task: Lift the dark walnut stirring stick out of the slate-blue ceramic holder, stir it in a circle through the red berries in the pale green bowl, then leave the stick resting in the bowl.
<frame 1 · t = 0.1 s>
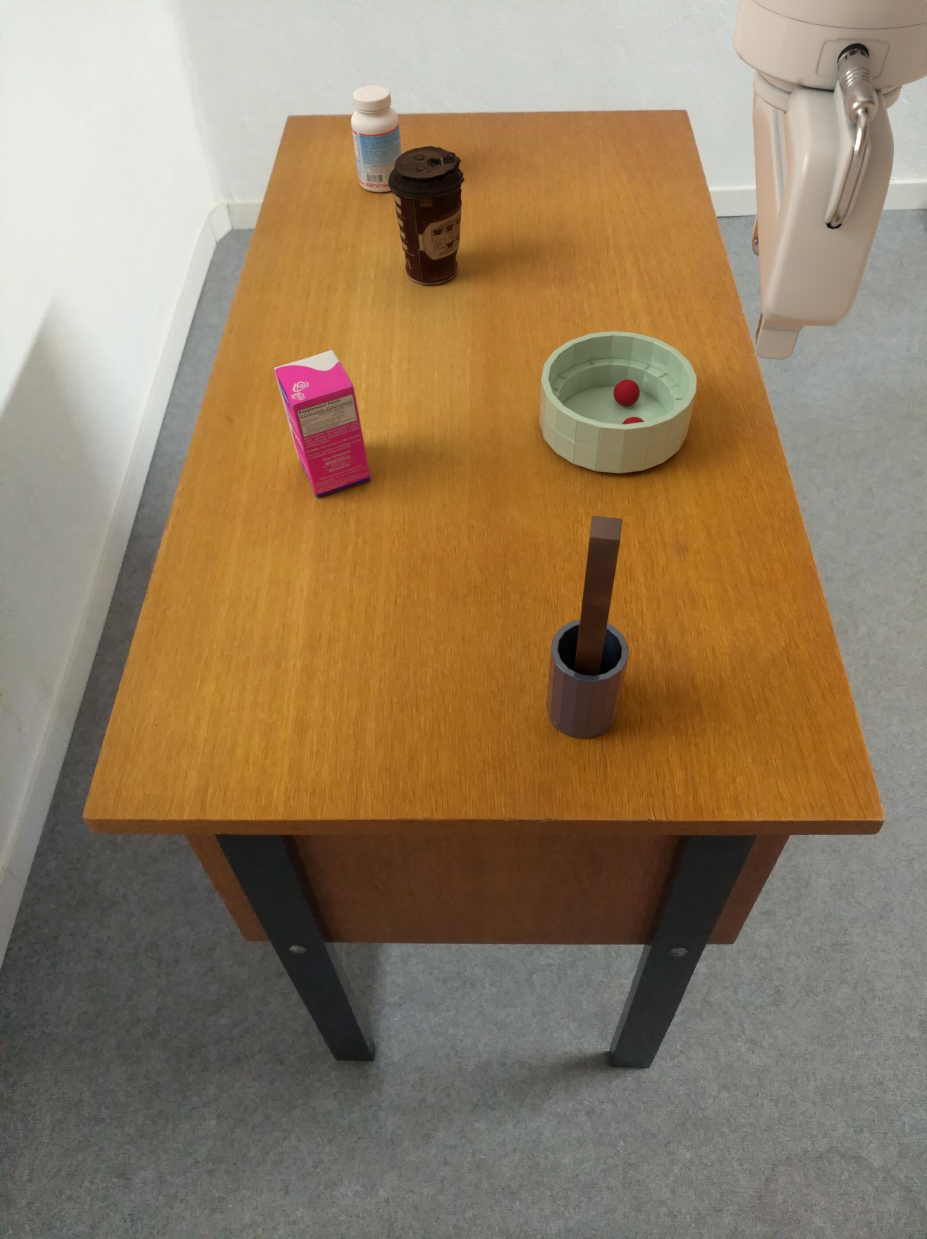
hand: (768, 297, 48), 31 cm above the table, tool pointing down, fingers open, 8 cm apart
supplement box: (334, 473, 86), on the table
stick holder: (581, 708, 69), on the table
berry 1: (626, 393, 89), point 2 cm above the table, touching bowl
pill bottle: (381, 184, 120), on the table
stirring stick: (582, 704, 69), resting on stick holder
coffee cup: (433, 272, 107), on the table
berry 2: (633, 430, 85), point 2 cm above the table, touching bowl
bowl: (612, 426, 89), on the table
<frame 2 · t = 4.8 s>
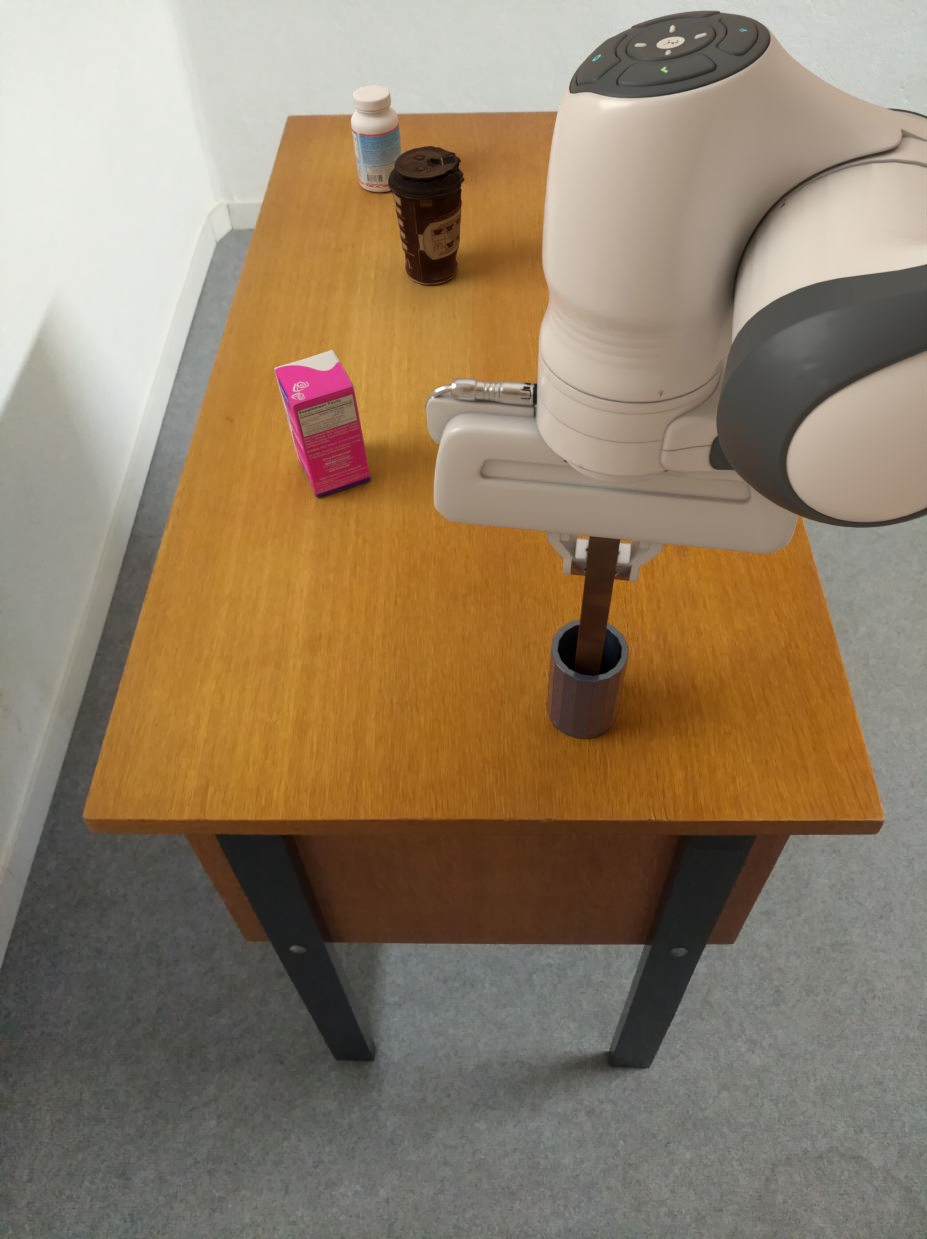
hand: (600, 570, 56), 17 cm above the table, tool pointing down, fingers closed on stirring stick, 2 cm apart
stirring stick: (582, 704, 69), resting on stick holder, touching gripper
everything else where it was.
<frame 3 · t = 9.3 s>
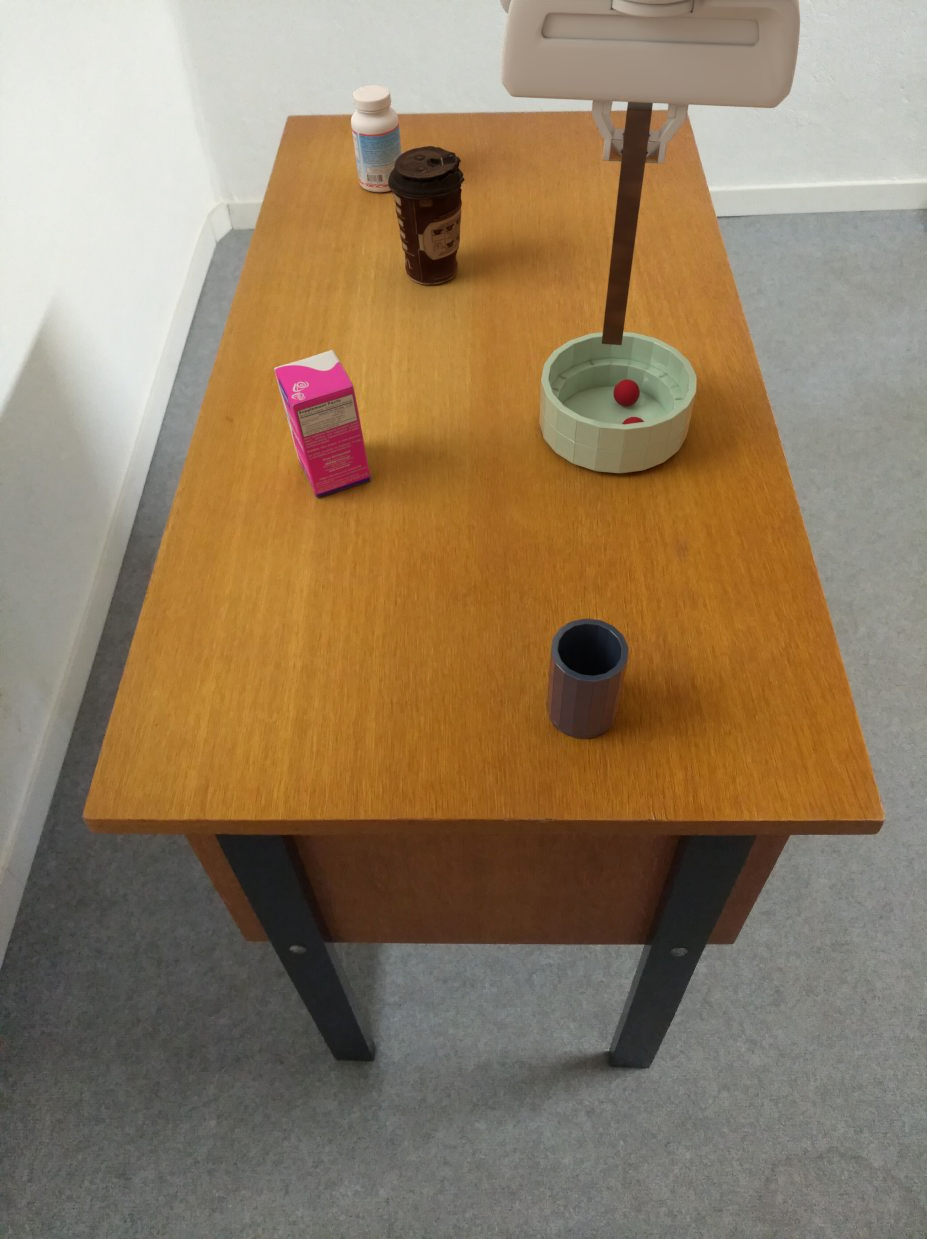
hand: (633, 159, 68), 26 cm above the table, tool pointing down, fingers closed on stirring stick
stirring stick: (612, 338, 81), point 10 cm above the table, touching gripper
everything else where it was.
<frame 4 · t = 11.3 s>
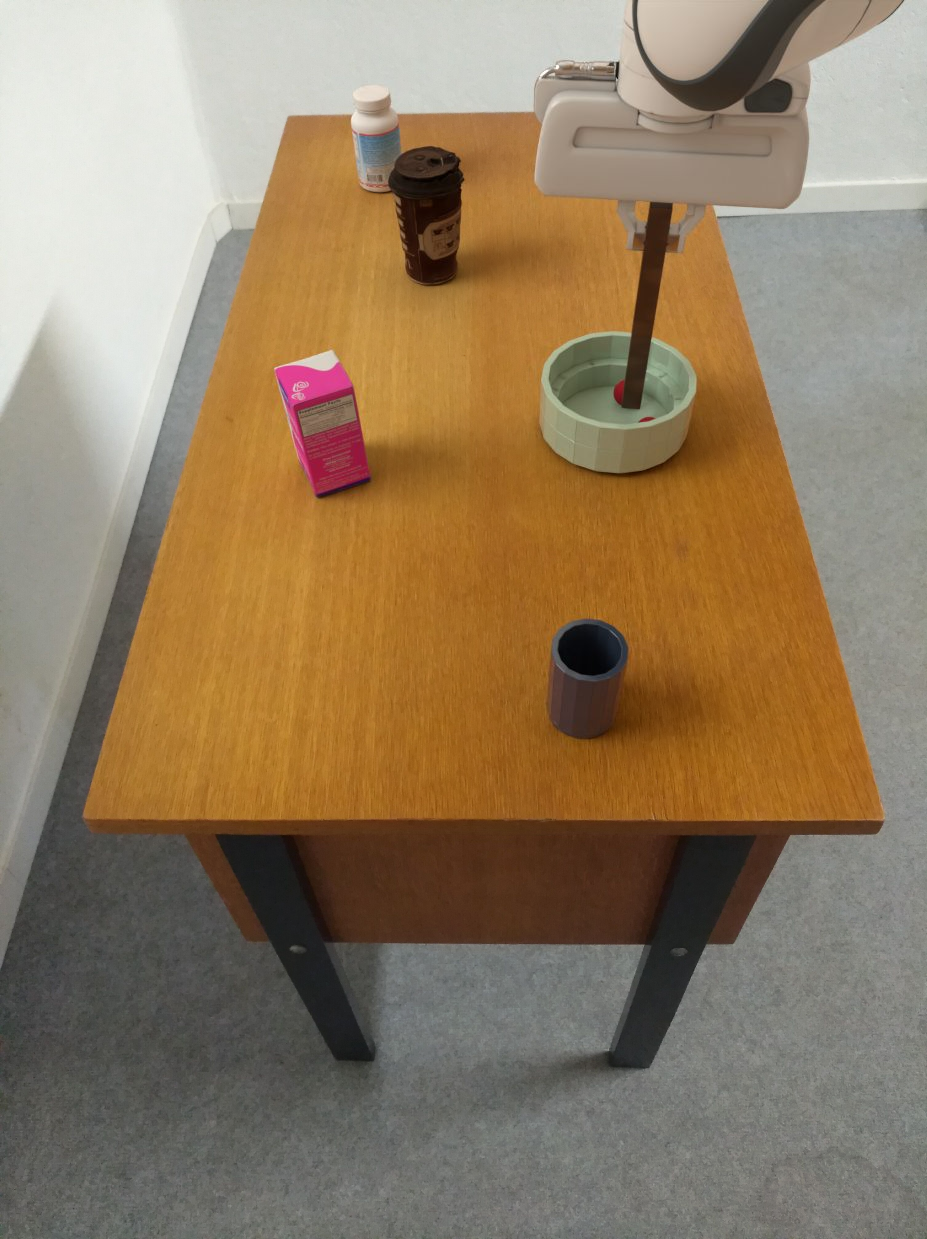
hand: (654, 248, 74), 19 cm above the table, tool pointing down, fingers closed on stirring stick, 2 cm apart
stirring stick: (631, 402, 87), point 3 cm above the table, touching gripper
berry 2: (648, 430, 85), point 2 cm above the table, tilted 62°, touching bowl
everything else where it was.
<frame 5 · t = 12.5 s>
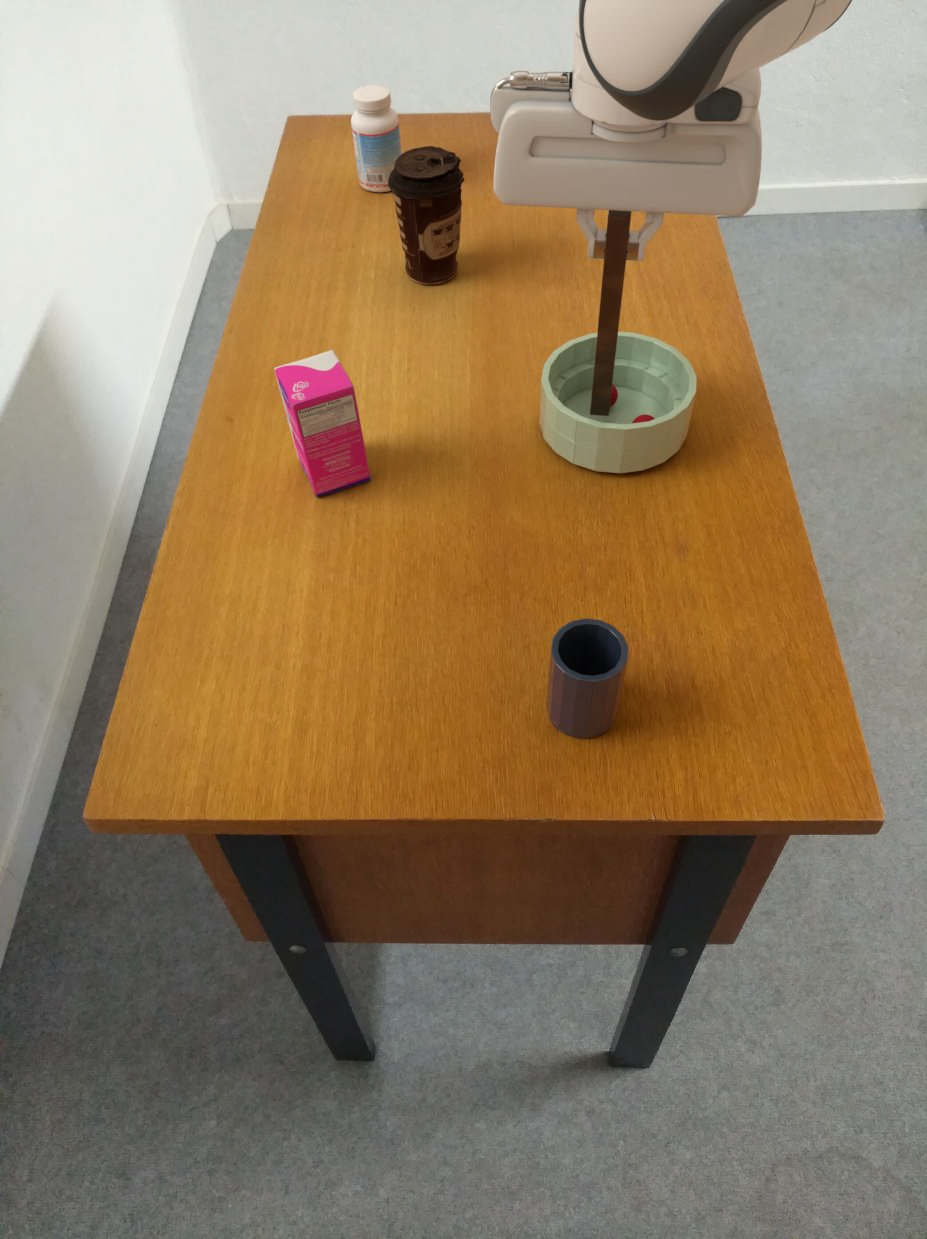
hand: (615, 256, 74), 18 cm above the table, tool pointing down, fingers closed on stirring stick, 2 cm apart
berry 1: (604, 395, 89), point 2 cm above the table, tilted 96°, touching bowl
stirring stick: (600, 409, 87), point 2 cm above the table, touching gripper
berry 2: (644, 428, 86), point 2 cm above the table, tilted 47°, touching bowl
everything else where it was.
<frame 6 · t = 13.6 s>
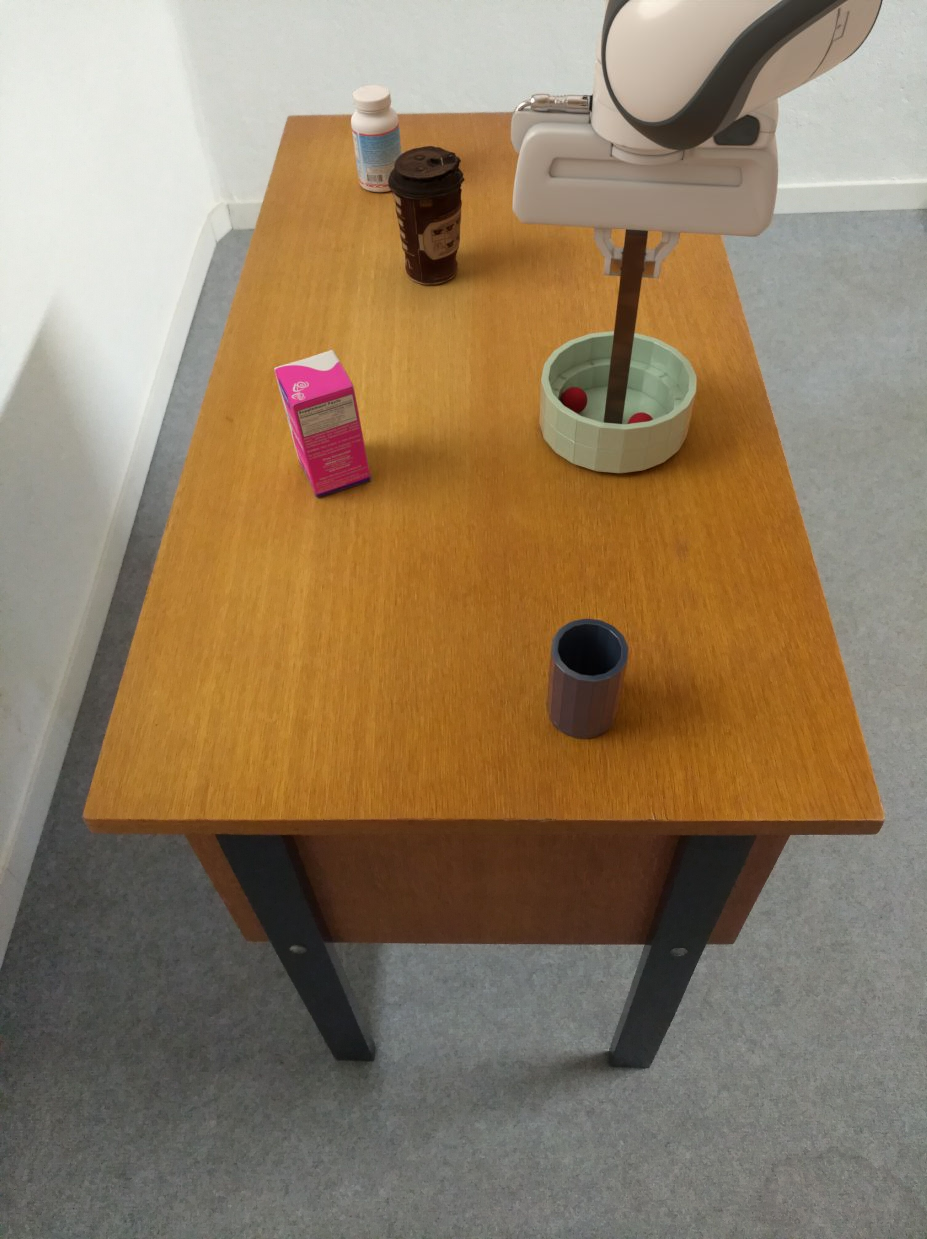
hand: (631, 273, 75), 17 cm above the table, tool pointing down, fingers closed on stirring stick, 2 cm apart
berry 1: (574, 400, 88), point 2 cm above the table, tilted 125°, touching bowl
stirring stick: (612, 421, 88), point 1 cm above the table, touching gripper
berry 2: (640, 426, 86), point 2 cm above the table, tilted 37°, touching bowl
everything else where it was.
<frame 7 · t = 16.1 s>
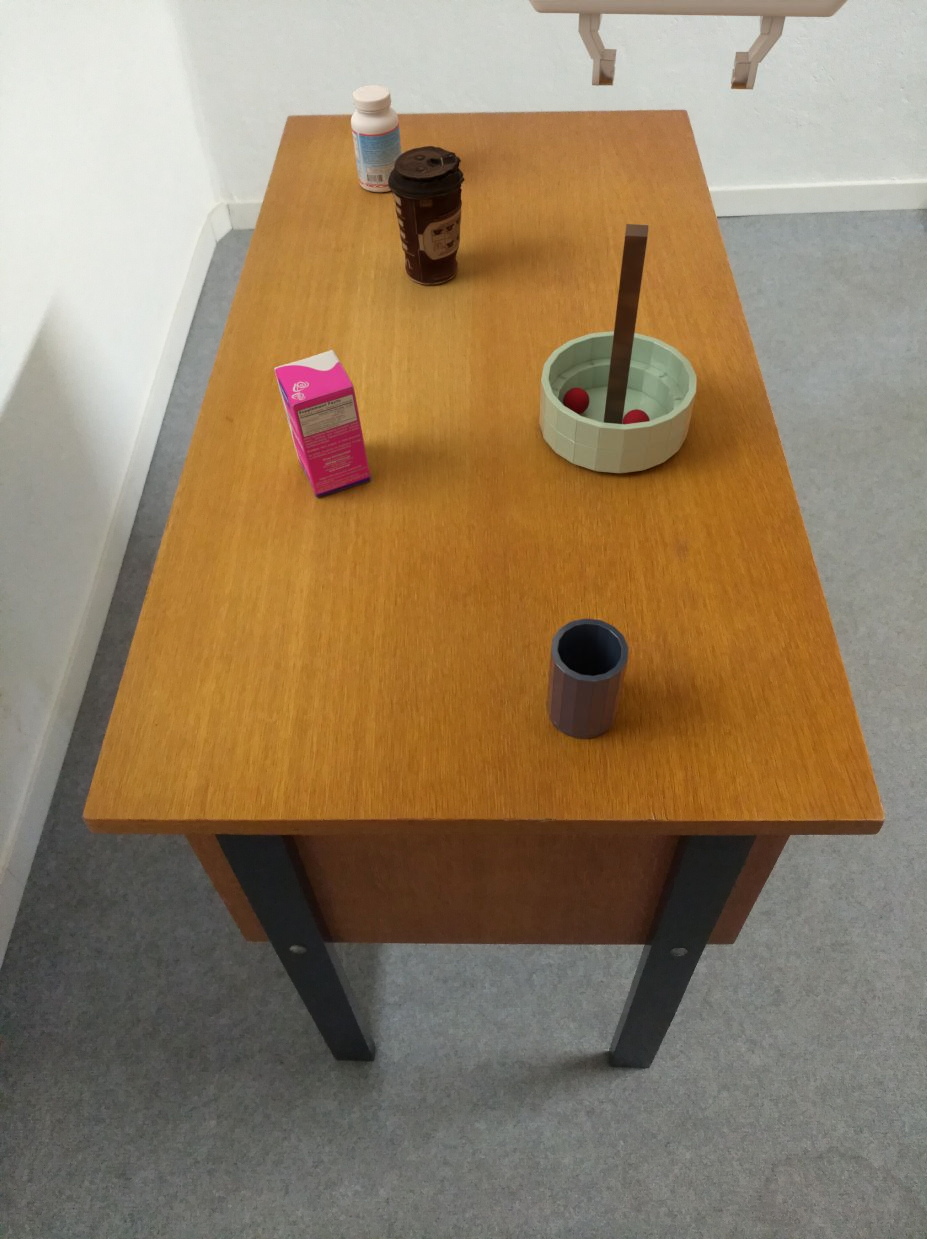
hand: (671, 84, 62), 32 cm above the table, tool pointing down, fingers open, 8 cm apart
berry 1: (576, 401, 88), point 2 cm above the table, tilted 131°, touching bowl
stirring stick: (612, 422, 88), point 1 cm above the table, touching bowl
everything else where it was.
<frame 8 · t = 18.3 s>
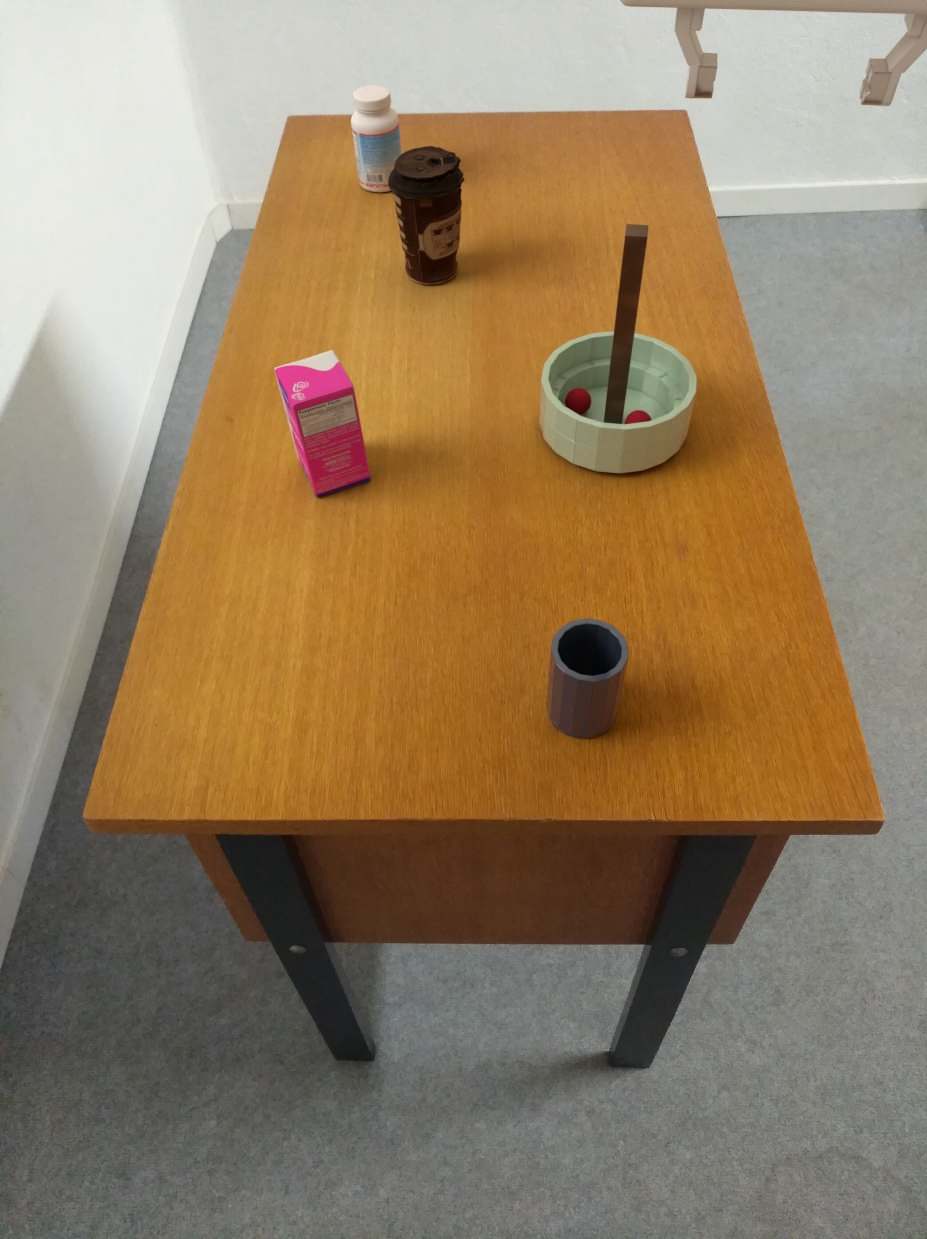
hand: (785, 98, 49), 37 cm above the table, tool pointing down, fingers open, 8 cm apart
nothing on the table moved.
at the end: berry 1 moved 5.0 cm from its start; stirring stick inside the target area in the bowl (0.0 cm from its centre), point 0.6 cm above the bowl's base; the gripper is holding nothing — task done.
